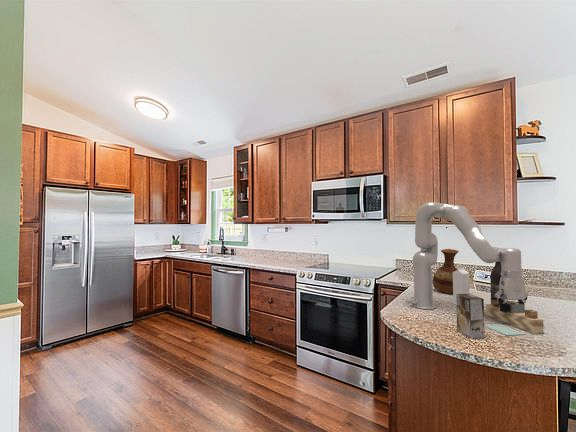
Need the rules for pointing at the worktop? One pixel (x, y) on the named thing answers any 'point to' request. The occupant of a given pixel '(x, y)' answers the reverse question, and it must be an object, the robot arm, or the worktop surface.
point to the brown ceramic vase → (445, 272)
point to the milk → (460, 282)
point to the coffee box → (470, 315)
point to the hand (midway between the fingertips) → (512, 311)
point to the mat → (504, 329)
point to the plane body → (516, 318)
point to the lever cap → (515, 307)
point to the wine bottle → (495, 280)
